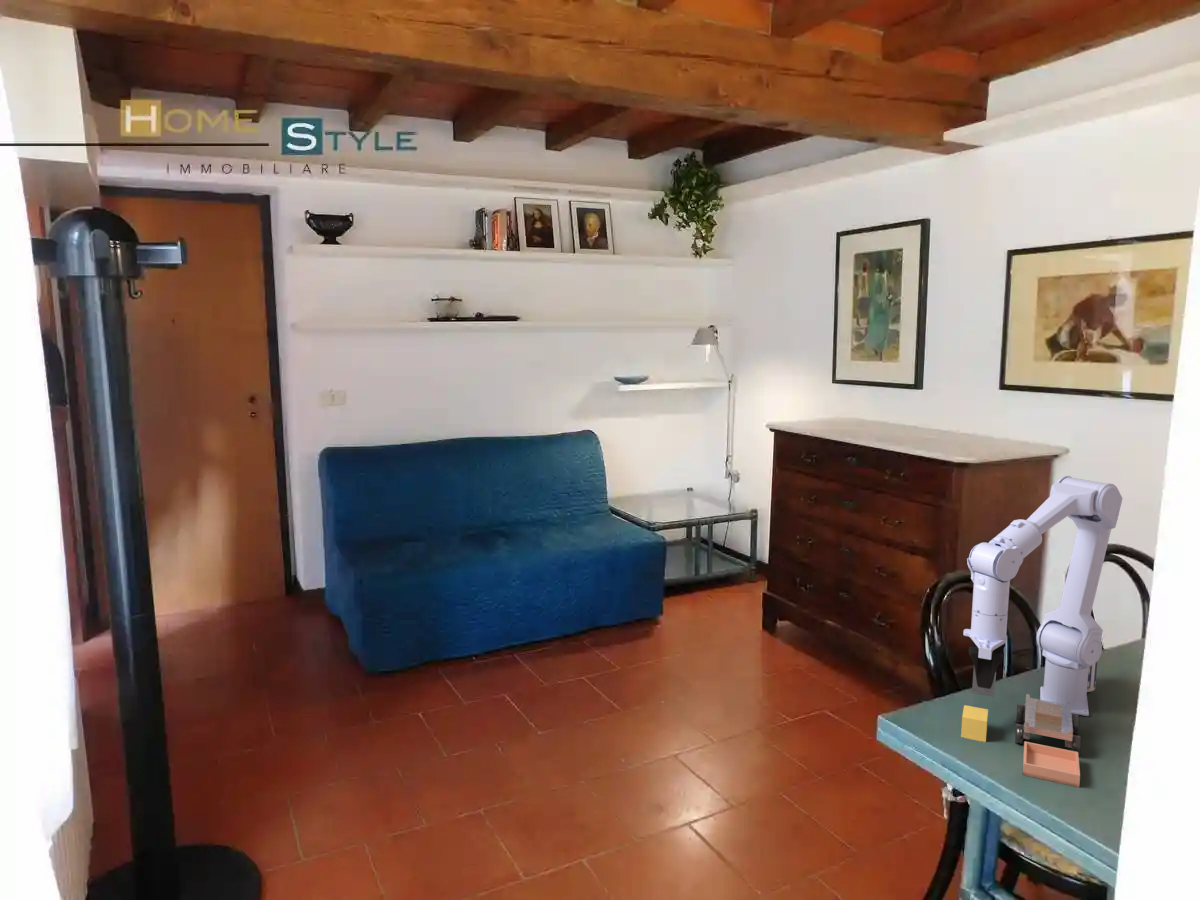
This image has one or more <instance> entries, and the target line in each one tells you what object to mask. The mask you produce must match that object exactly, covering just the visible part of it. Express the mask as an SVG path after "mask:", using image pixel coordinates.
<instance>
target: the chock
mask: <svg viewBox="0 0 1200 900" xmlns="http://www.w3.org/2000/svg"><path fill="white" fill-rule="evenodd" d="M988 721H989V709H987V708H982V707H976V706H971V705H966V704H964V705H963V710H962V716H961V731H960V732H961V733H960V737H961V738H963V737H964V739H968V740H974V741H977V742H982V741H983V743H986V741H987V734H988Z"/></svg>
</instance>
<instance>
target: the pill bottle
mask: <svg viewBox="0 0 1200 900" xmlns="http://www.w3.org/2000/svg"><path fill="white" fill-rule="evenodd" d="M1097 673H1098V661H1097V662H1096V663H1095V664H1093V665H1092V666H1090V667H1089V671H1088V683H1087V693H1089V692H1094V691H1095V690H1096V687H1097V685H1096V684H1097Z"/></svg>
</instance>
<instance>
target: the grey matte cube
mask: <svg viewBox="0 0 1200 900" xmlns="http://www.w3.org/2000/svg"><path fill="white" fill-rule="evenodd" d="M996 676H997V671H996V672H995V676H994V680H993V683H992V686H991V688H990V689H987V688H982V687H978V685H977V681H976V674H975V668H974V667H973V673H972V687H971V688H972V689H971V692H972V694H976V695H981V696H988V697H993V698H994V696H995V689H996Z"/></svg>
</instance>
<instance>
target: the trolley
mask: <svg viewBox="0 0 1200 900" xmlns="http://www.w3.org/2000/svg"><path fill="white" fill-rule="evenodd" d="M1016 705H1017V706H1016V720H1015V722H1017V723H1016V724H1015V735H1014V736H1015V738H1014V743H1016V744H1020V745H1024V739H1025V740H1030V738H1031V737H1030V736H1031V734H1032V735H1033V734H1034V735H1039V736H1044V737H1050V738H1053V739H1054V738H1055V739H1059V740H1064V747H1065V748H1070V751H1075V752H1078V757H1079V756H1080V755H1081V745H1082V744H1081V739H1082V737H1081V736H1080V735H1075V734H1078V733H1079V725H1080V724H1079V723H1080V719H1079V717H1080V715H1078V714H1072V713H1071V702H1068V701H1067V704H1062V703H1056V702H1051V701H1045V700H1040V698H1039V699H1038V698H1033V697H1030V694H1028V693H1026V694H1025V703H1024V704H1020V703H1017V704H1016ZM1020 723H1022V724H1020Z"/></svg>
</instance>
